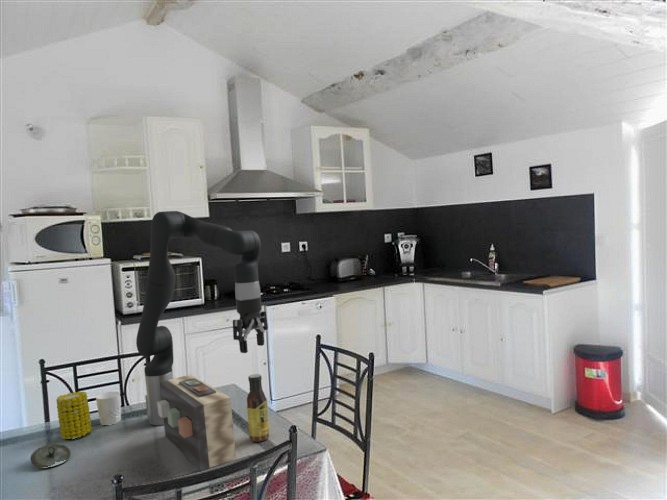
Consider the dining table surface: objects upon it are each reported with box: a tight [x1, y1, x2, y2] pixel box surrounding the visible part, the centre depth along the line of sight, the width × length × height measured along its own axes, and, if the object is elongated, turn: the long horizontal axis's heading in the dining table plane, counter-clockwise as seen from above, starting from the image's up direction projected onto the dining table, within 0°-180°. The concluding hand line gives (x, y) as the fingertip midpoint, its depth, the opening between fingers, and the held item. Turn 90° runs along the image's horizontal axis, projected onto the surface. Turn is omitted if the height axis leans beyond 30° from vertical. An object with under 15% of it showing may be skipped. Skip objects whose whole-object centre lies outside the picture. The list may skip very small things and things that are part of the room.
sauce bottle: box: [246, 373, 270, 443], centre depth 161 cm, size 6×6×20 cm
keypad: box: [160, 374, 237, 472], centre depth 158 cm, size 10×32×19 cm, turn 35°
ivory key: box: [157, 400, 170, 418], centre depth 162 cm, size 2×4×4 cm, turn 35°
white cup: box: [95, 390, 122, 425], centre depth 185 cm, size 8×8×10 cm
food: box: [55, 391, 92, 440], centre depth 175 cm, size 15×12×10 cm
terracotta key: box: [178, 417, 193, 438], centre depth 146 cm, size 2×4×4 cm, turn 35°
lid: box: [29, 443, 71, 468], centre depth 155 cm, size 11×10×5 cm
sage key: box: [167, 408, 180, 427], centre depth 154 cm, size 2×4×4 cm, turn 35°
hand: (252, 348), depth 158 cm, fingers open, 8 cm apart
